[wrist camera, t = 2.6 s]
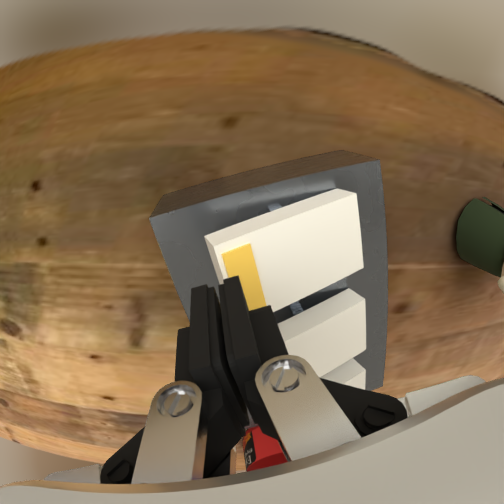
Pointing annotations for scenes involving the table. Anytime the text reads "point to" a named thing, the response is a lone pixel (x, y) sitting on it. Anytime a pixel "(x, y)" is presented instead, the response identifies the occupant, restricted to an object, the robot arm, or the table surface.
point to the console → (269, 199)
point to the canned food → (261, 450)
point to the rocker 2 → (327, 332)
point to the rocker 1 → (291, 249)
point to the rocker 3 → (348, 374)
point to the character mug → (482, 237)
